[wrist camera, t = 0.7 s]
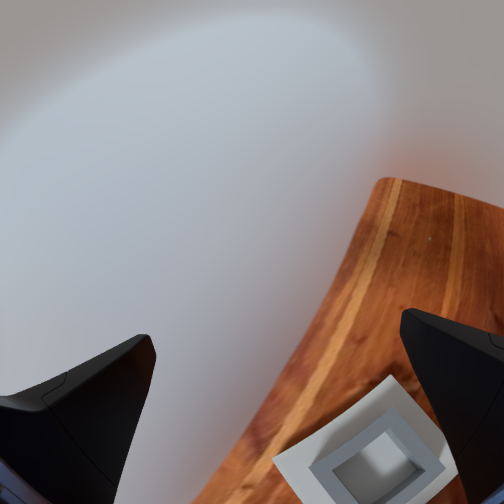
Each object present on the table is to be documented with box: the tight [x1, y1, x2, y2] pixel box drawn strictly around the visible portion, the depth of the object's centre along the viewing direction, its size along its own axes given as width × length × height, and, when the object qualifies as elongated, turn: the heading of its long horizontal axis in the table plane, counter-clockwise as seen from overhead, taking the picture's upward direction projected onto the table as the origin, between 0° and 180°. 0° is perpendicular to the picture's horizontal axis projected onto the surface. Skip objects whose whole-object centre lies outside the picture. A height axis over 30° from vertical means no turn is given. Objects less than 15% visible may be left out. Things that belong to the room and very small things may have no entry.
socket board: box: [271, 374, 458, 504], centre depth 14 cm, size 12×12×4 cm
